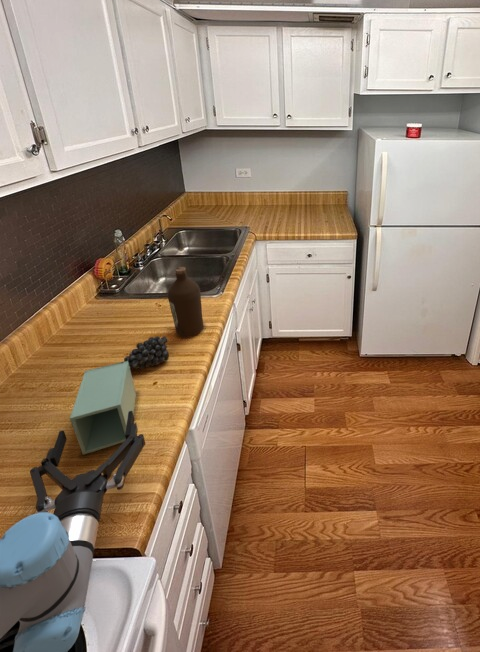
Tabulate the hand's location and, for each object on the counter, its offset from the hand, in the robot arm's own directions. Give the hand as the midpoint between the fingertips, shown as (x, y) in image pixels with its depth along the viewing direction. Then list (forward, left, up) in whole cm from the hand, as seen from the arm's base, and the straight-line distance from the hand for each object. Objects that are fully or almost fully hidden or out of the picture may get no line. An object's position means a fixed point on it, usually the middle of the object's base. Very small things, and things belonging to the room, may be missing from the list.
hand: (98, 424), depth 76 cm
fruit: (-23, +17, -9) cm, 30 cm away
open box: (-8, +3, -2) cm, 9 cm away
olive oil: (-29, +35, -9) cm, 46 cm away
